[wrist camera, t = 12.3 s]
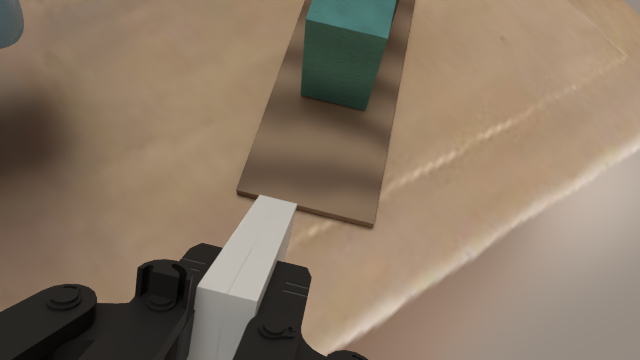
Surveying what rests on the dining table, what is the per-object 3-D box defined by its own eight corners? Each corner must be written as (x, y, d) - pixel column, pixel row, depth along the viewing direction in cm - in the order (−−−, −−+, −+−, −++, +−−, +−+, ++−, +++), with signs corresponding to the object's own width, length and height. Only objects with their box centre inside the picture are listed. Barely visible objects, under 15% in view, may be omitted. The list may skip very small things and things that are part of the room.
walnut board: (371, 227, 39) (373, 224, 38) (237, 194, 39) (236, 189, 38) (415, -7, 54) (417, -13, 53) (317, -29, 54) (318, -36, 53)
